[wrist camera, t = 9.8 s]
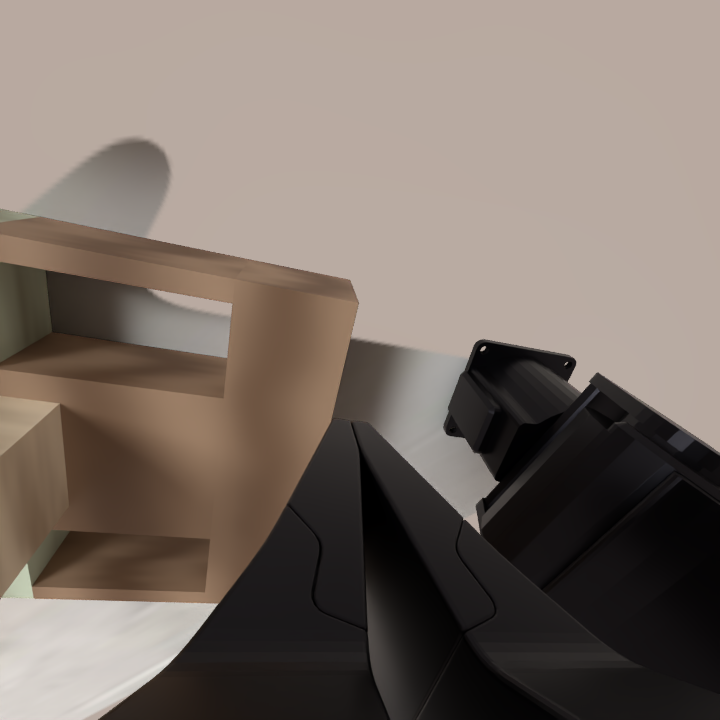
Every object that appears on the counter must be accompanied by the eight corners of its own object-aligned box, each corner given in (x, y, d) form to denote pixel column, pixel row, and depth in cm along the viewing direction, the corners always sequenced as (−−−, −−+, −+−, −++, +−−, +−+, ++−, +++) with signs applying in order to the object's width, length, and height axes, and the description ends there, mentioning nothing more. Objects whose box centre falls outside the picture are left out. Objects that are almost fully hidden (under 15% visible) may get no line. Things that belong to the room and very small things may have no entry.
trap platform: (350, 280, 19) (363, 314, 14) (290, 549, 27) (286, 630, 22) (-128, 182, 15) (-335, 184, 10) (-34, 531, 23) (-127, 625, 18)
